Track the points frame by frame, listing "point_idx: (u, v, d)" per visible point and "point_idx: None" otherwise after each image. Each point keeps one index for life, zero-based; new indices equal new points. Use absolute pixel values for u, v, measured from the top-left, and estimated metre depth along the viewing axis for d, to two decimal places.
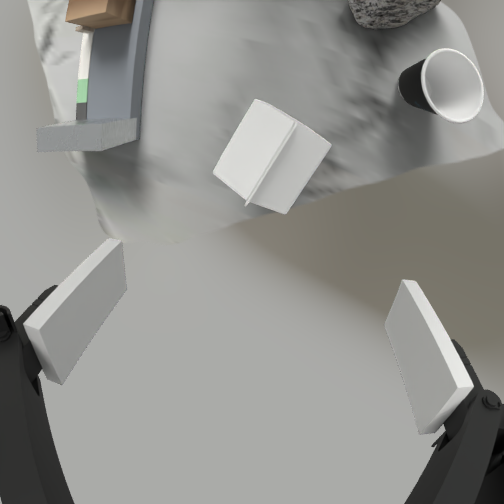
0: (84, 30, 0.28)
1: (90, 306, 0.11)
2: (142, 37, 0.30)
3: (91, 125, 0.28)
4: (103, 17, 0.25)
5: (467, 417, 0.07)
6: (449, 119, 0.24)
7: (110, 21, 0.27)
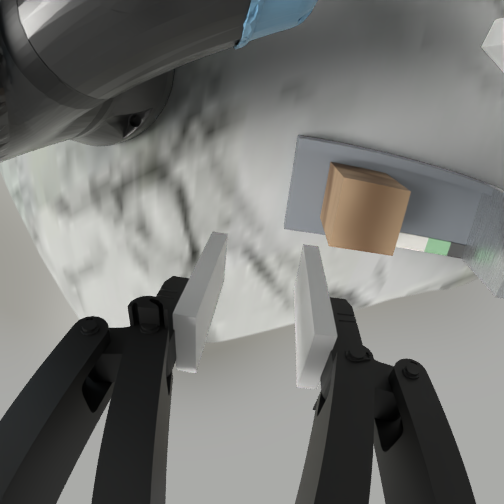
0: None
1: (213, 295, 0.13)
2: (410, 160, 0.28)
3: None
4: None
5: (333, 377, 0.08)
6: None
7: None
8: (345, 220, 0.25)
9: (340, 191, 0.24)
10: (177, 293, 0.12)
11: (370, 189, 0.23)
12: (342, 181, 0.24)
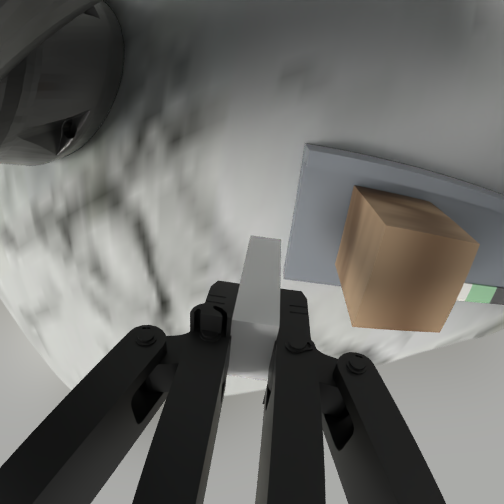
0: None
1: None
2: (462, 183, 0.18)
3: None
4: None
5: (274, 370, 0.08)
6: None
7: None
8: (381, 291, 0.15)
9: (377, 246, 0.14)
10: (226, 298, 0.12)
11: (424, 243, 0.14)
12: (382, 230, 0.14)
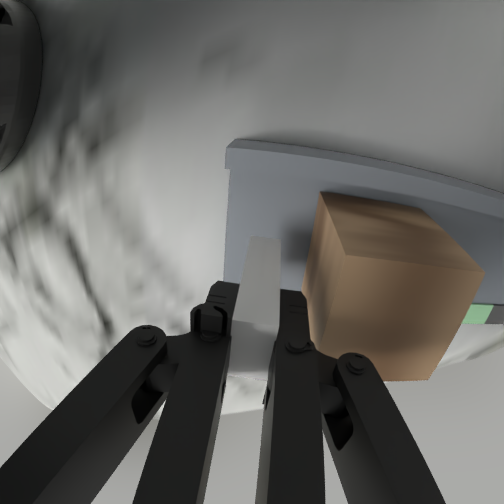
0: None
1: None
2: (447, 180, 0.14)
3: None
4: None
5: (274, 370, 0.08)
6: None
7: None
8: (344, 339, 0.11)
9: (336, 283, 0.10)
10: (226, 298, 0.12)
11: (405, 277, 0.10)
12: (341, 261, 0.10)
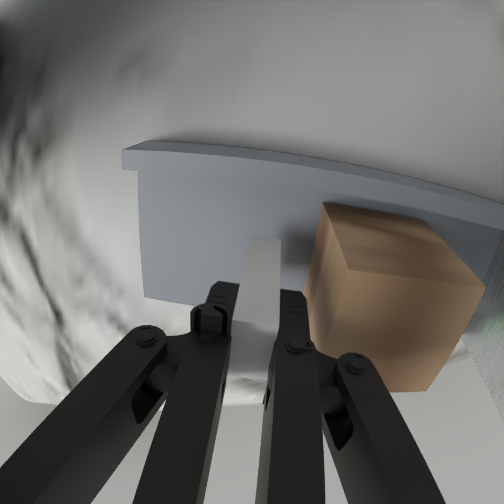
0: None
1: None
2: (364, 171, 0.15)
3: None
4: None
5: (274, 370, 0.08)
6: None
7: None
8: (345, 351, 0.11)
9: (338, 297, 0.10)
10: (226, 298, 0.12)
11: (406, 292, 0.10)
12: (344, 276, 0.10)
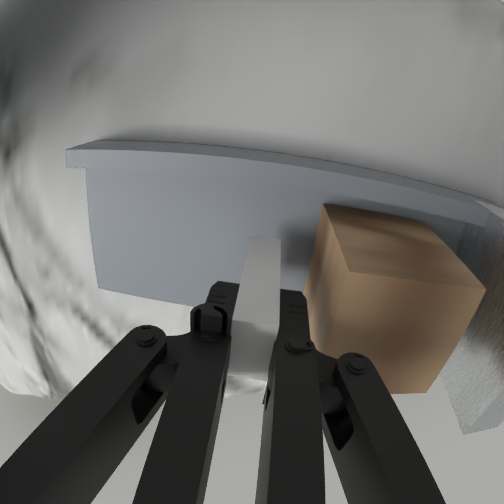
0: None
1: None
2: (293, 160, 0.15)
3: None
4: None
5: (274, 370, 0.08)
6: None
7: None
8: None
9: (338, 298, 0.10)
10: (226, 298, 0.12)
11: (407, 293, 0.10)
12: (345, 278, 0.10)
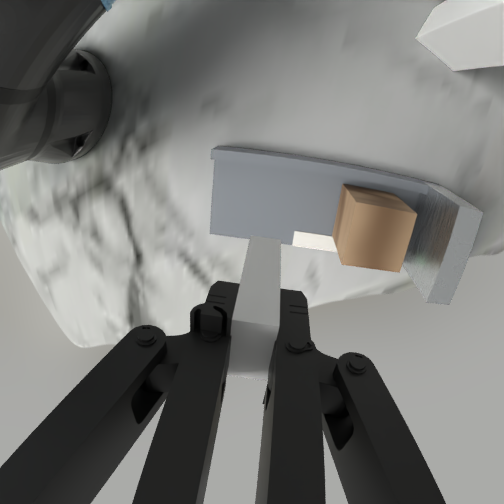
0: None
1: None
2: (328, 162, 0.31)
3: (457, 220, 0.23)
4: None
5: (274, 370, 0.08)
6: None
7: None
8: (357, 241, 0.27)
9: (352, 214, 0.26)
10: (226, 298, 0.12)
11: (380, 212, 0.25)
12: (354, 205, 0.26)
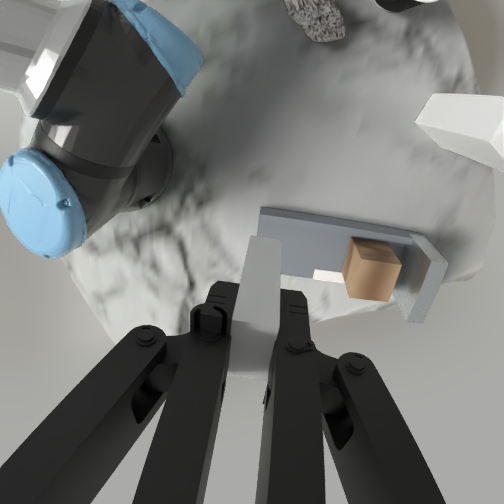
0: None
1: None
2: (342, 222, 0.43)
3: (428, 270, 0.36)
4: None
5: (274, 370, 0.08)
6: None
7: None
8: (360, 283, 0.40)
9: (358, 266, 0.39)
10: (226, 298, 0.12)
11: (376, 265, 0.38)
12: (360, 260, 0.39)
